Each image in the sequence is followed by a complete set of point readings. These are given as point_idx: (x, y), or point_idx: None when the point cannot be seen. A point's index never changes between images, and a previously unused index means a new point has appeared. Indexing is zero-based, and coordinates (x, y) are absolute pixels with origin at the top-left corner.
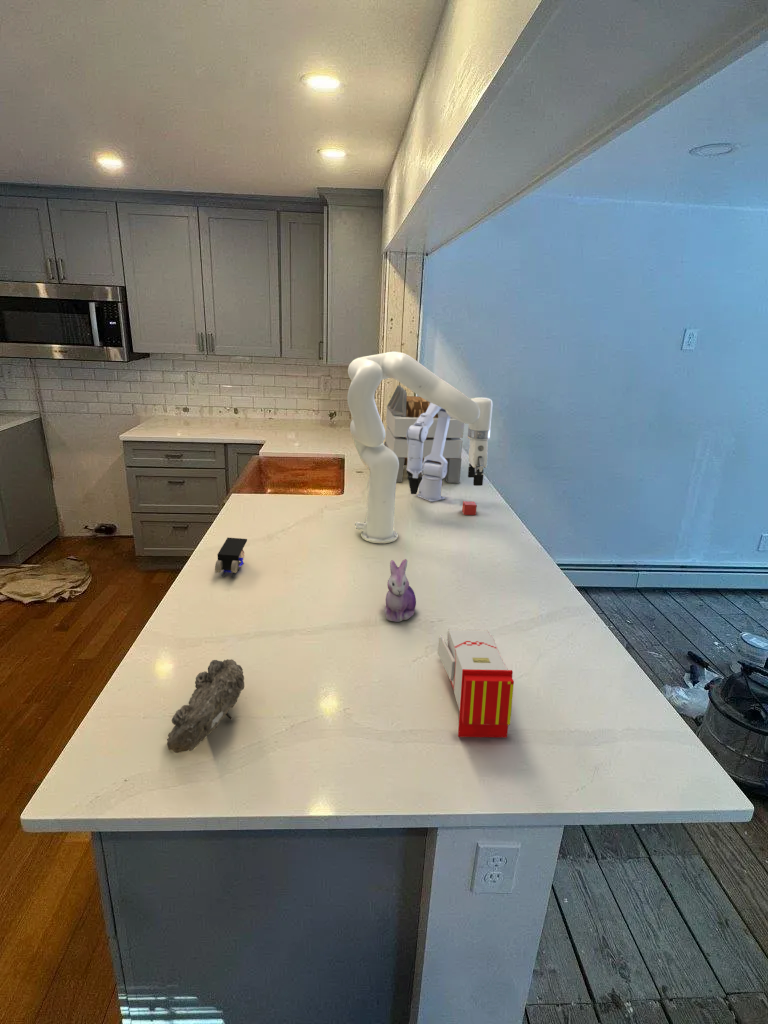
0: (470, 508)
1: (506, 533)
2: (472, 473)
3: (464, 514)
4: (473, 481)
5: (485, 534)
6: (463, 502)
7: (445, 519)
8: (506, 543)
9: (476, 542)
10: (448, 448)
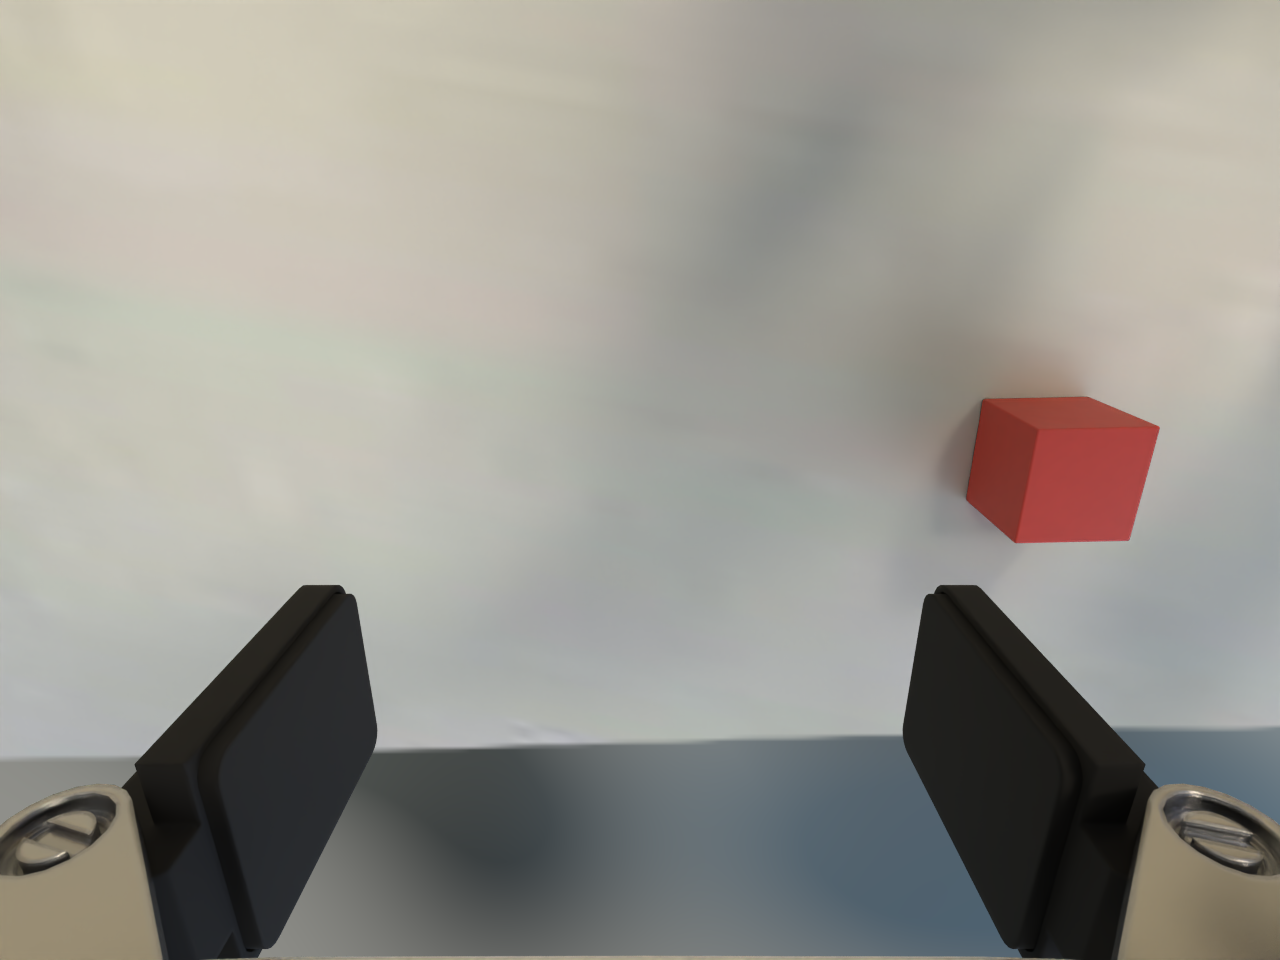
0: (1006, 472)
1: (550, 646)
2: (951, 719)
3: (984, 402)
4: (292, 625)
5: (508, 491)
6: (1126, 425)
7: (876, 181)
8: None
9: (313, 382)
10: None
